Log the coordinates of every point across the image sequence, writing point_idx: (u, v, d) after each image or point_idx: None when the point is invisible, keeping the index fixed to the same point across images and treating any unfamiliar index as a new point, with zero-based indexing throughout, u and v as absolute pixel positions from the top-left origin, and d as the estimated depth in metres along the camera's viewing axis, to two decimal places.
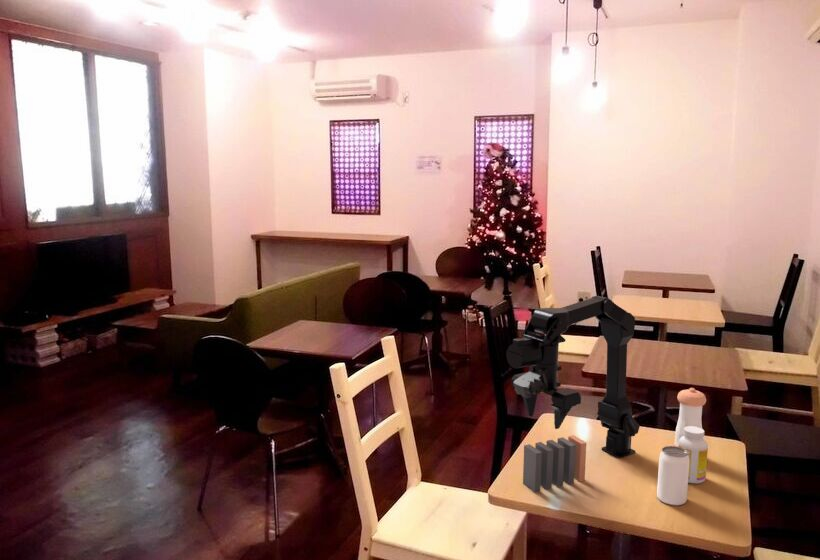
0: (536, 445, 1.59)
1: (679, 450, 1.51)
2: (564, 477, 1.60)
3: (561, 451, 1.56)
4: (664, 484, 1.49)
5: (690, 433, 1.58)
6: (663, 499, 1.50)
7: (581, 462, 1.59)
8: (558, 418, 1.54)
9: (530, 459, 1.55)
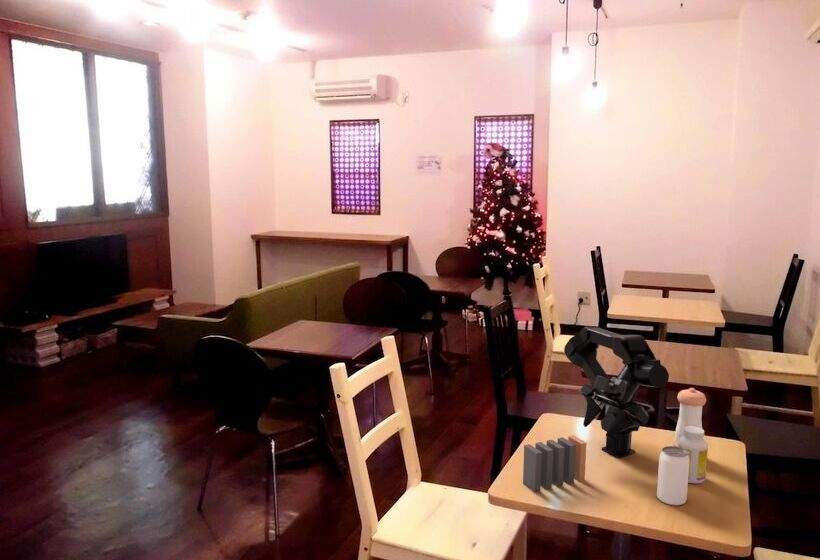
0: (536, 445, 1.59)
1: (679, 450, 1.51)
2: (564, 477, 1.60)
3: (562, 451, 1.56)
4: (664, 484, 1.49)
5: (690, 433, 1.58)
6: (663, 499, 1.50)
7: (581, 462, 1.59)
8: (615, 426, 1.61)
9: (530, 459, 1.55)
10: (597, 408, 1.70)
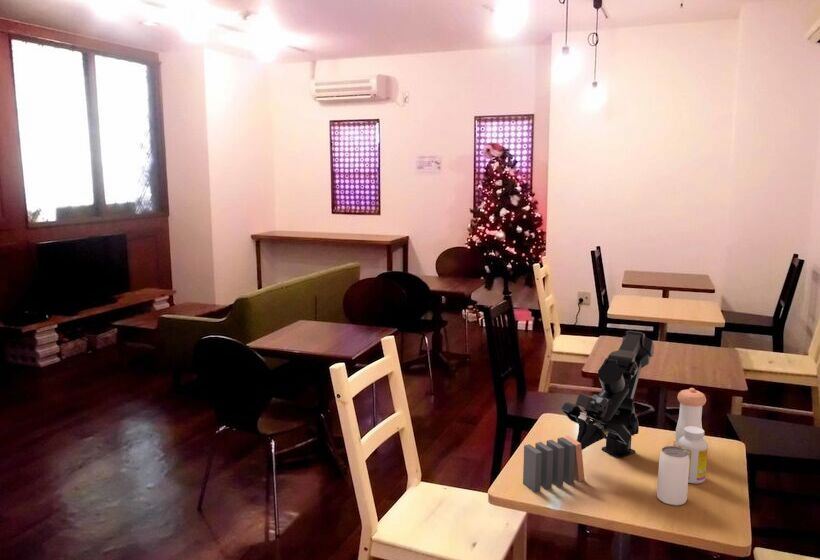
0: (536, 445, 1.59)
1: (679, 450, 1.51)
2: (564, 477, 1.60)
3: (561, 451, 1.56)
4: (664, 484, 1.49)
5: (690, 433, 1.58)
6: (663, 499, 1.50)
7: (578, 463, 1.59)
8: (586, 440, 1.60)
9: (530, 459, 1.55)
10: None
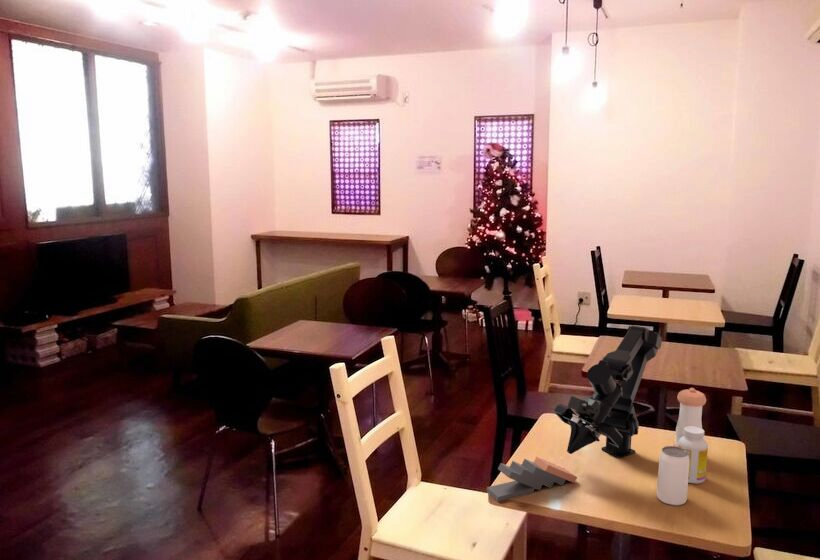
0: (500, 470, 1.56)
1: (679, 450, 1.51)
2: None
3: (525, 473, 1.53)
4: (664, 484, 1.49)
5: (690, 433, 1.58)
6: (663, 499, 1.50)
7: (560, 475, 1.57)
8: (578, 442, 1.59)
9: None
10: None
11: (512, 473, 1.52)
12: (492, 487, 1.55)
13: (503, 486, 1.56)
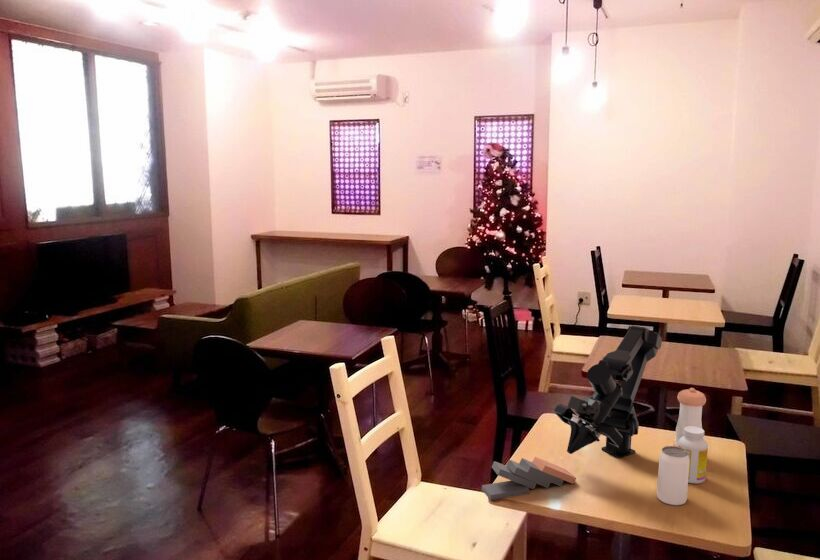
0: None
1: (679, 450, 1.51)
2: None
3: (519, 471, 1.54)
4: (664, 484, 1.49)
5: (690, 433, 1.58)
6: (663, 499, 1.50)
7: (558, 476, 1.57)
8: (578, 442, 1.59)
9: None
10: None
11: (501, 471, 1.54)
12: (487, 485, 1.56)
13: (498, 485, 1.56)
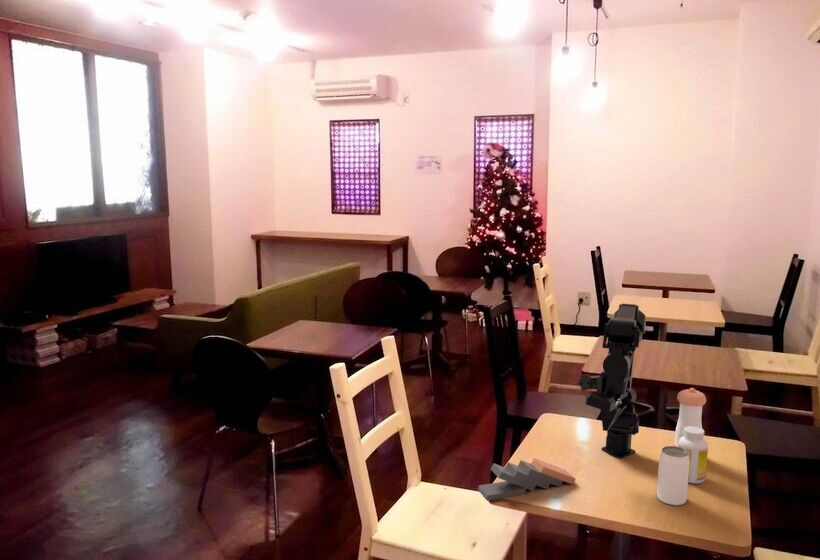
0: None
1: (679, 450, 1.51)
2: None
3: (519, 475, 1.53)
4: (664, 484, 1.49)
5: (690, 433, 1.58)
6: (663, 499, 1.50)
7: (557, 477, 1.57)
8: (602, 418, 1.62)
9: None
10: None
11: (502, 474, 1.52)
12: (484, 485, 1.56)
13: (495, 485, 1.56)
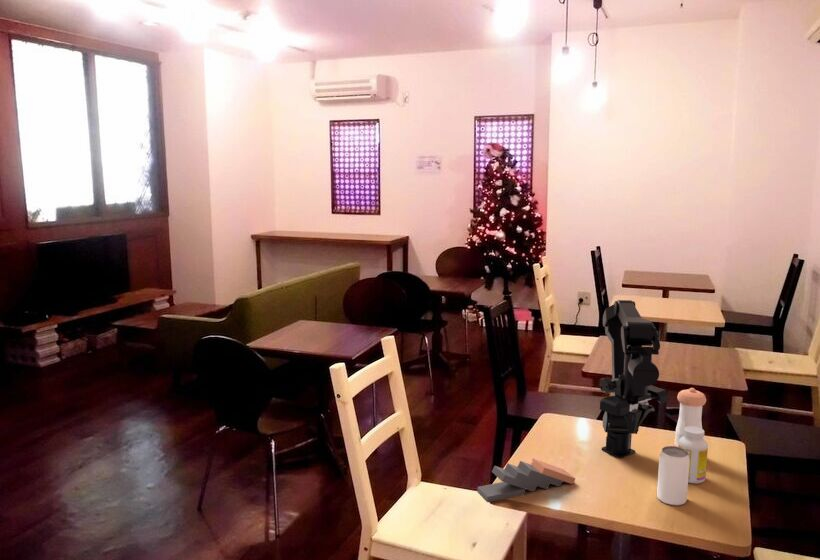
0: None
1: (679, 450, 1.51)
2: None
3: (520, 476, 1.53)
4: (664, 484, 1.49)
5: (690, 433, 1.58)
6: (663, 499, 1.50)
7: (557, 477, 1.57)
8: (626, 421, 1.59)
9: None
10: (639, 409, 1.58)
11: (505, 476, 1.51)
12: (483, 486, 1.55)
13: (494, 486, 1.55)
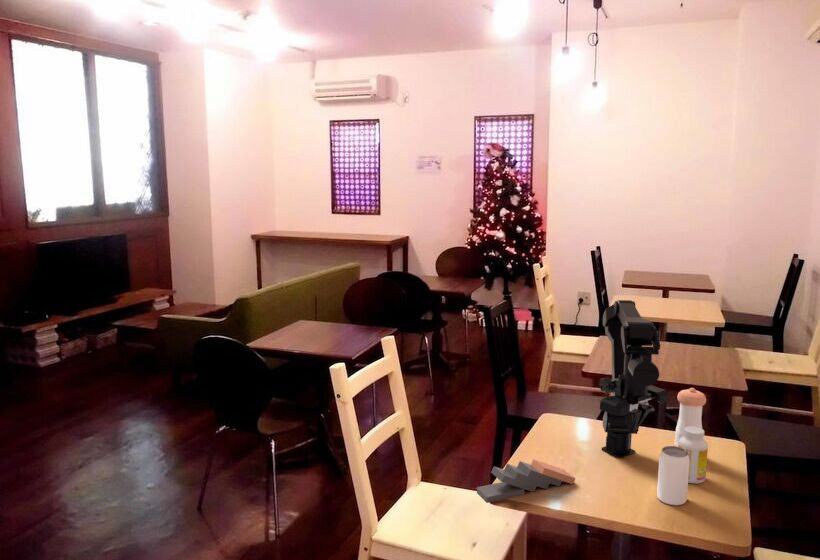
0: None
1: (679, 450, 1.51)
2: None
3: (519, 476, 1.53)
4: (664, 484, 1.49)
5: (690, 433, 1.58)
6: (663, 499, 1.50)
7: (558, 477, 1.57)
8: (626, 421, 1.59)
9: None
10: (639, 409, 1.58)
11: (505, 477, 1.51)
12: (482, 487, 1.55)
13: (493, 486, 1.55)
